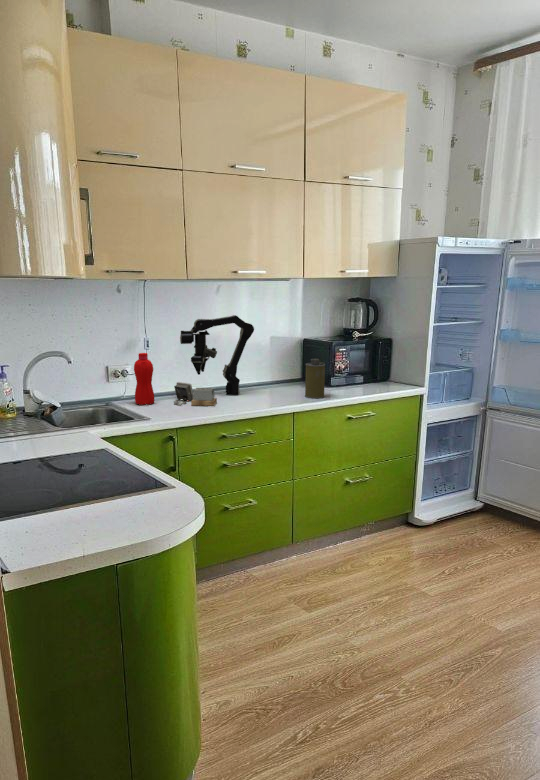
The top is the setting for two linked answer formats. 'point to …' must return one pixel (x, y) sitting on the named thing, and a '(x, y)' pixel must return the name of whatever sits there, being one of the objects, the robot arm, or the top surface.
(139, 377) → the water bottle
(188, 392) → the electrical switch
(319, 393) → the canister
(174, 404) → the bolt
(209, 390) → the housing
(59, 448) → the top surface
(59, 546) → the top surface
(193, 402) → the stand
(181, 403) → the bolt
